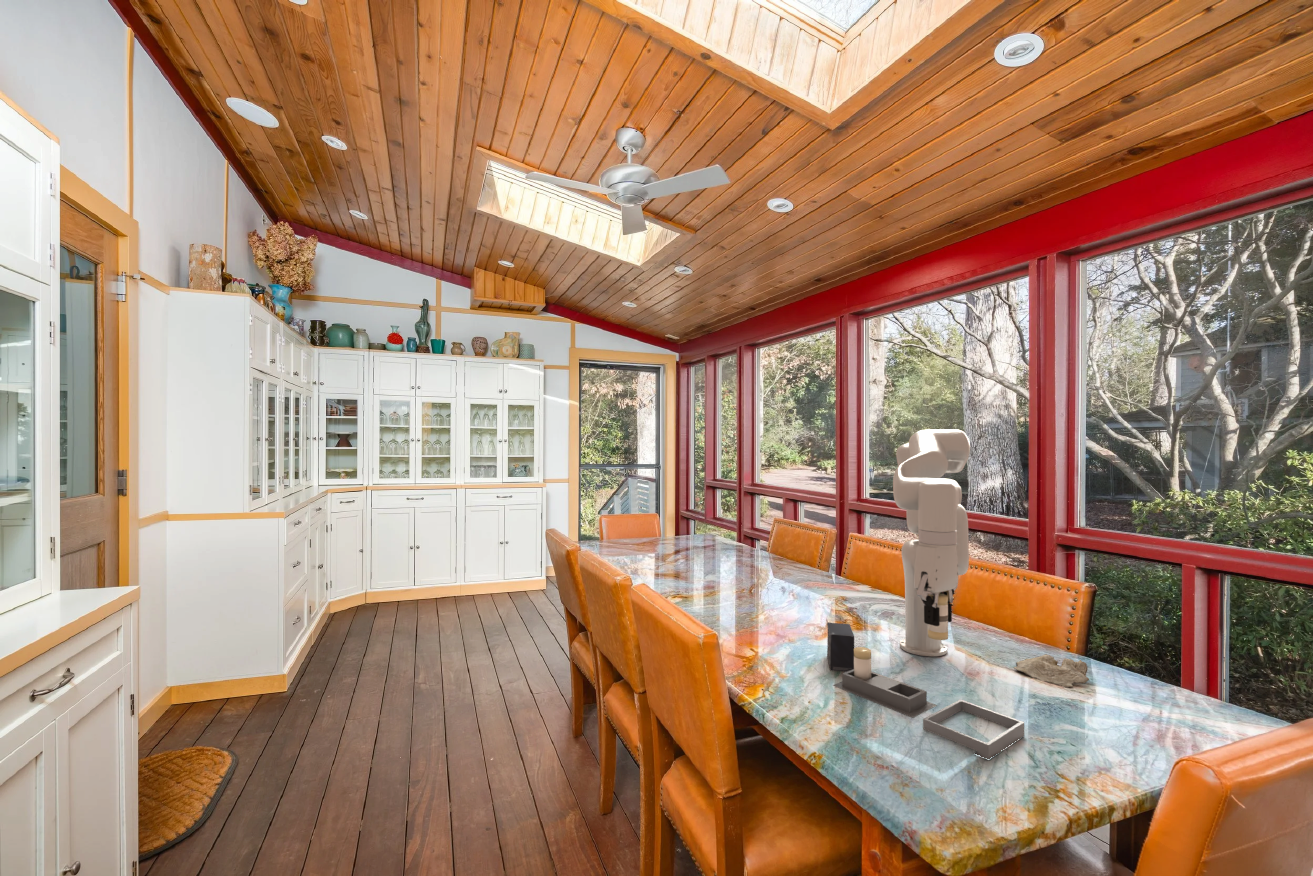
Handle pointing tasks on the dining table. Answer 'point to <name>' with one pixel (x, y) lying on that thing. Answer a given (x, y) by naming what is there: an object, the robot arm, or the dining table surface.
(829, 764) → the dining table surface
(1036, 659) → the coral
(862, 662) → the cylinder
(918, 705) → the fuse block
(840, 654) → the small box
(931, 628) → the fuse
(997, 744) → the tray
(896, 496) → the robot arm
